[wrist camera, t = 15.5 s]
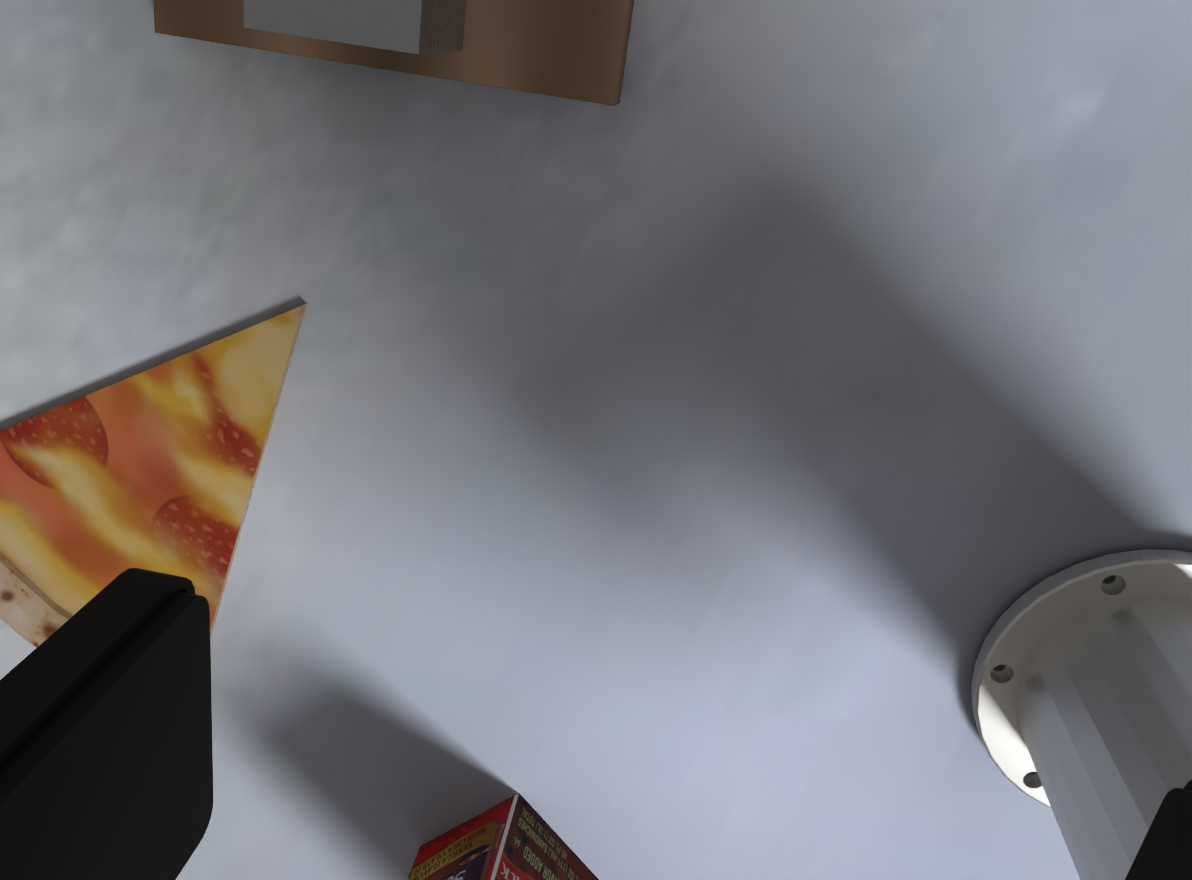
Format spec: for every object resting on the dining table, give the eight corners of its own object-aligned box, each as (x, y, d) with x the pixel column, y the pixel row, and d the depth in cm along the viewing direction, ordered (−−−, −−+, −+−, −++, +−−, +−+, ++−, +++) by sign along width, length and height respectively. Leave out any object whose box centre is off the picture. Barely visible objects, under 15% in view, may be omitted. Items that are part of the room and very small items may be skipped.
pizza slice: (478, 623, 44) (467, 649, 42) (86, 740, 50) (61, 768, 48) (311, 299, 39) (290, 313, 37) (-102, 470, 45) (-137, 489, 43)
